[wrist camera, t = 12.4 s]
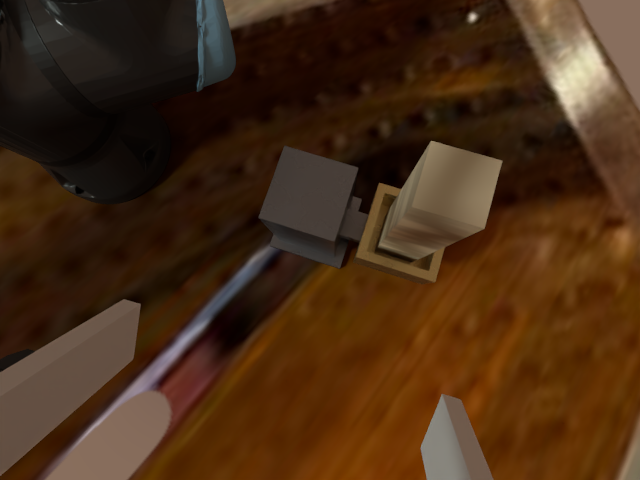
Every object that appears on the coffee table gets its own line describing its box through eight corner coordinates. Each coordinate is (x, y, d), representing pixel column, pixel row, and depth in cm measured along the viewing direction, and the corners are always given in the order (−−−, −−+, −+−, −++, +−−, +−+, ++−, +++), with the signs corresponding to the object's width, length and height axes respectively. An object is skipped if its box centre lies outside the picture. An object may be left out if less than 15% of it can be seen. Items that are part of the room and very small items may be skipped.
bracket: (270, 246, 43) (244, 224, 31) (294, 180, 45) (277, 132, 32) (409, 291, 42) (443, 288, 29) (430, 221, 43) (470, 189, 30)
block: (374, 250, 37) (411, 206, 19) (385, 215, 37) (431, 140, 20) (411, 262, 36) (484, 228, 19) (421, 226, 37) (502, 160, 19)
